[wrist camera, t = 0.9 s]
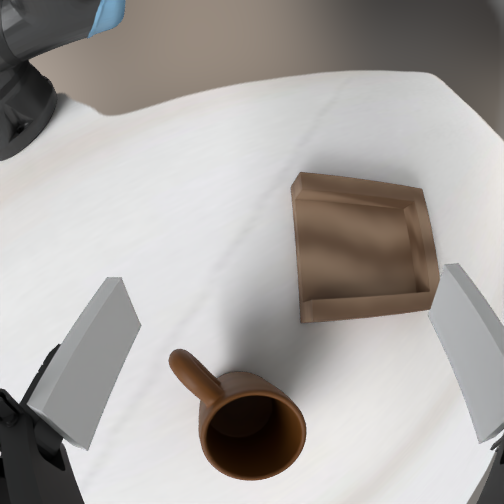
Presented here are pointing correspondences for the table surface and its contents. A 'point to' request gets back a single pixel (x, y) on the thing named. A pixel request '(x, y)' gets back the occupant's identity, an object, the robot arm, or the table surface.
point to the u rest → (361, 248)
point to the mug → (242, 420)
